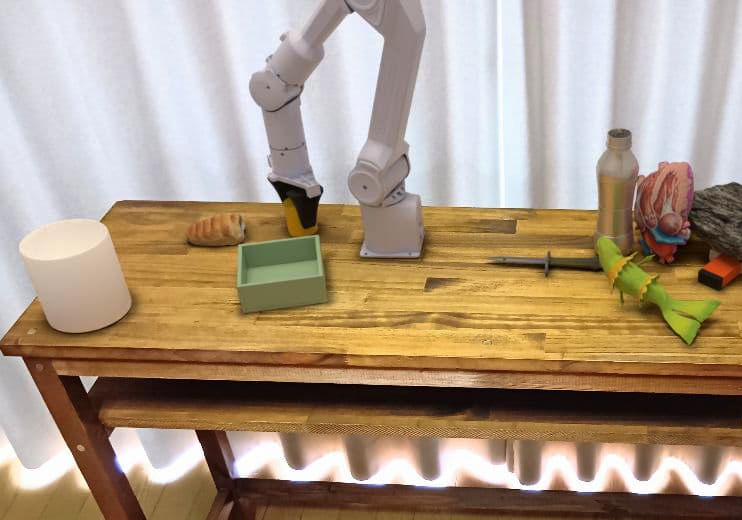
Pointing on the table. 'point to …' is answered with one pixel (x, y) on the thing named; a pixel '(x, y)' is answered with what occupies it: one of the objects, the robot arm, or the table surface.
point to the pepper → (295, 221)
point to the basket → (281, 274)
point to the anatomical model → (664, 208)
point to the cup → (76, 275)
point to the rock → (719, 218)
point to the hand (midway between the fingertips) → (301, 220)
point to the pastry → (217, 230)
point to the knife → (553, 261)
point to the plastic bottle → (616, 191)
